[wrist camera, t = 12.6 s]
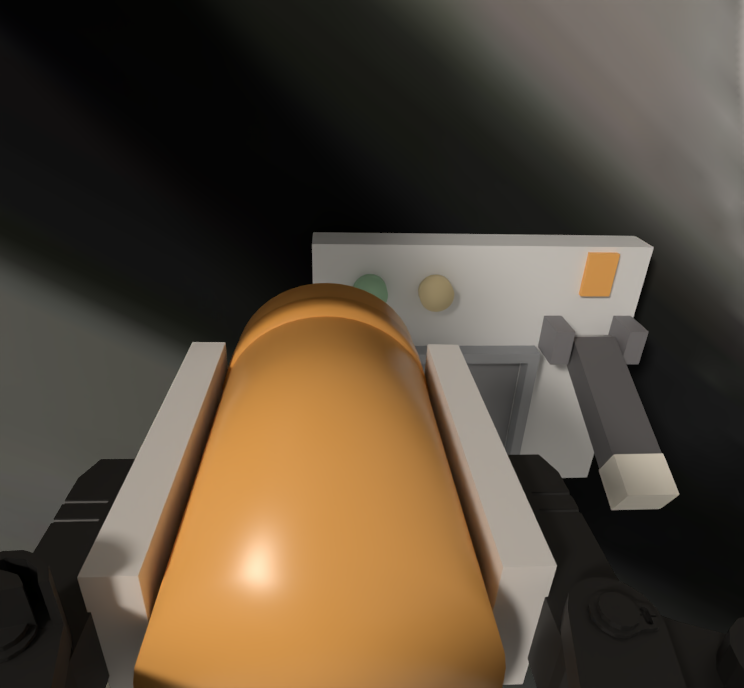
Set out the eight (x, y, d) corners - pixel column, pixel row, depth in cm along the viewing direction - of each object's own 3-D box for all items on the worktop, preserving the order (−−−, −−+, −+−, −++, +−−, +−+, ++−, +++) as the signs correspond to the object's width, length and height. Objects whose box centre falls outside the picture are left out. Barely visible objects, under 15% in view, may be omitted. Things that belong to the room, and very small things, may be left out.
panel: (313, 232, 29) (310, 257, 26) (635, 235, 30) (674, 260, 27) (317, 462, 37) (316, 505, 33) (575, 457, 38) (599, 499, 35)
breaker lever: (570, 327, 30) (627, 495, 24) (612, 327, 30) (679, 494, 24) (559, 346, 31) (611, 510, 25) (599, 346, 31) (660, 508, 26)
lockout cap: (227, 279, 13) (94, 564, 6) (425, 282, 14) (541, 552, 6) (240, 440, 16) (157, 796, 8) (409, 439, 16) (481, 776, 8)
